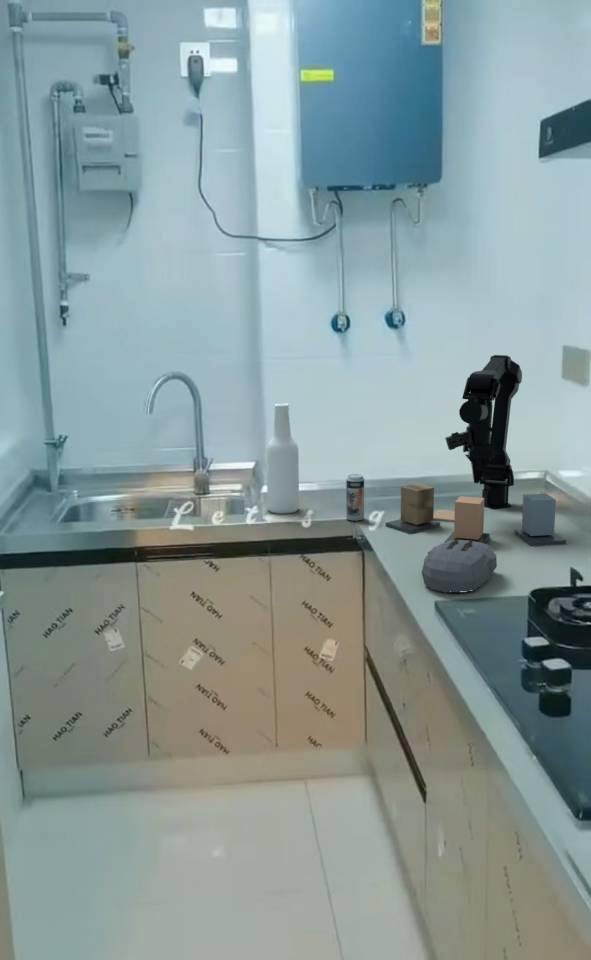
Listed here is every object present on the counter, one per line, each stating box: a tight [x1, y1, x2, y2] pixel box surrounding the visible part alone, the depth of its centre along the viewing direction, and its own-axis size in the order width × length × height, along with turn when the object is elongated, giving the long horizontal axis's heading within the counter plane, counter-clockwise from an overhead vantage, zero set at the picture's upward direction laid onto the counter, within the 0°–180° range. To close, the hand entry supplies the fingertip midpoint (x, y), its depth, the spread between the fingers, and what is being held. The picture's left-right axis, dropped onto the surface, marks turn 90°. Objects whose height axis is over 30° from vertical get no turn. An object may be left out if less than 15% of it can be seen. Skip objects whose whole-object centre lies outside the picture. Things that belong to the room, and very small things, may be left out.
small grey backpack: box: [421, 539, 498, 593], centre depth 203 cm, size 15×8×20 cm
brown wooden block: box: [400, 482, 435, 525], centre depth 245 cm, size 6×6×9 cm
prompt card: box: [433, 509, 455, 523], centre depth 253 cm, size 9×9×1 cm
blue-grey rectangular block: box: [521, 493, 557, 536], centre depth 233 cm, size 6×6×9 cm
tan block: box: [453, 495, 485, 540], centre depth 232 cm, size 6×6×9 cm
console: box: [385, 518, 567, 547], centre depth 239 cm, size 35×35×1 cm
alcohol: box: [265, 402, 300, 515], centre depth 259 cm, size 9×9×30 cm
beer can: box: [345, 473, 365, 522], centre depth 251 cm, size 5×5×12 cm
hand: (476, 483), depth 243 cm, fingers closed
